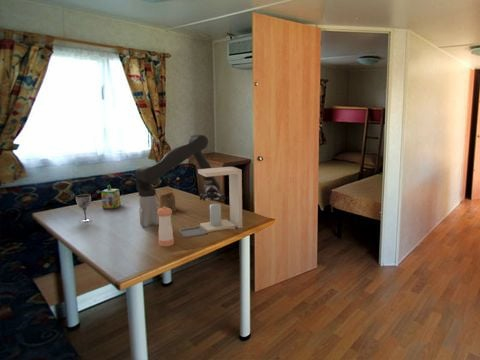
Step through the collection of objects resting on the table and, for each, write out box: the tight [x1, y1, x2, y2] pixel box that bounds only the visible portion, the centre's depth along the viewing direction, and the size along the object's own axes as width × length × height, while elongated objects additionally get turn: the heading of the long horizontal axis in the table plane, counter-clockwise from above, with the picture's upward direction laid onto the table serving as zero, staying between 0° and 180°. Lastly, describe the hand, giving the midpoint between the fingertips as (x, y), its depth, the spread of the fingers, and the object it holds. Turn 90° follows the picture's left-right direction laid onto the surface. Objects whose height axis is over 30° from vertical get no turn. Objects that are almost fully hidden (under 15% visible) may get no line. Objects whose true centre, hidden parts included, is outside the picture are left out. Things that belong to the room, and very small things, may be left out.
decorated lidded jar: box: [100, 184, 122, 209], centre depth 236 cm, size 9×9×15 cm
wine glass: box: [75, 193, 92, 221], centre depth 207 cm, size 8×8×15 cm
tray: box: [177, 225, 209, 239], centre depth 183 cm, size 12×12×2 cm
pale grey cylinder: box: [209, 202, 222, 227], centre depth 191 cm, size 6×6×11 cm
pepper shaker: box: [157, 206, 175, 247], centre depth 167 cm, size 7×7×19 cm
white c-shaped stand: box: [197, 166, 243, 233], centre depth 190 cm, size 20×12×32 cm, turn 115°
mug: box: [156, 191, 178, 212], centre depth 226 cm, size 12×18×12 cm, turn 132°
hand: (212, 199), depth 200 cm, fingers open, 8 cm apart
